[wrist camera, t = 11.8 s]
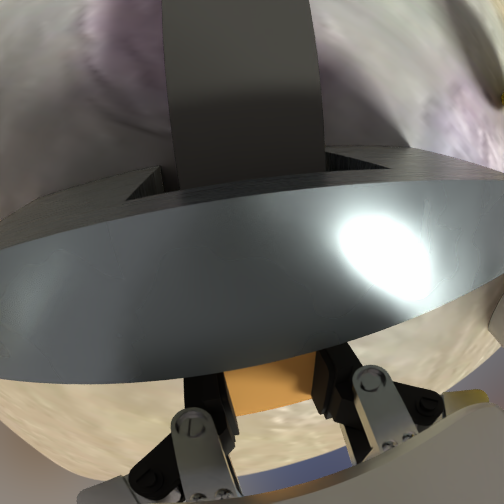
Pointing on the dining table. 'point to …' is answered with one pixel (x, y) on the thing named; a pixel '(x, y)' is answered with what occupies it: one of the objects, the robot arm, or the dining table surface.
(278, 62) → the plug
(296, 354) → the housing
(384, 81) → the dining table surface
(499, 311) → the coffee cup
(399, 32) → the dining table surface
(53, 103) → the dining table surface
